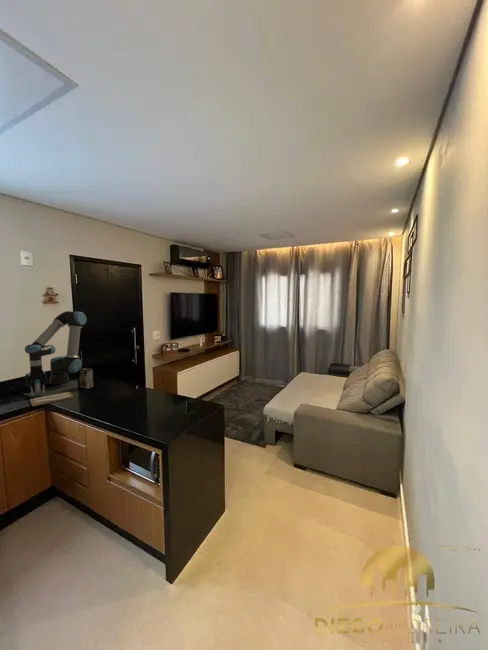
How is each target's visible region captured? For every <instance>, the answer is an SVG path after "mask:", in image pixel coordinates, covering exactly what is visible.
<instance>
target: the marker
mask: <svg viewBox="0 0 488 650" xmlns="http://www.w3.org/2000/svg"><path fill="white" fill-rule="evenodd" d="M33 383H34V392H35V393H34V394H35V398H38V397H42V390H41V388H42V387H41V378H40V379H34V380H33Z"/></svg>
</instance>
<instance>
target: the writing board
mask: <svg viewBox="0 0 488 650" xmlns="http://www.w3.org/2000/svg"><path fill="white" fill-rule="evenodd" d="M74 398H75V397H74V395H73V393H71V392H70V391H65V392H63V391H62V392H59V393H55V394H50V395H49V394H47V395H44V396H40V397H34V398H30V399H29V402H30V405H31V407H32V408H33V407H38V406H42V405H48V404H51V403H50V402H53V403H56V401H57V402H61V400H62V401H66V399H67V400H71V399H74Z"/></svg>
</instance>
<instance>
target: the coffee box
mask: <svg viewBox="0 0 488 650" xmlns="http://www.w3.org/2000/svg"><path fill="white" fill-rule="evenodd" d="M93 371H94V370H93V368H88V367H81V369H79V371H78V376H79V377H78V378H79V379H78V381H79V388H82V389H86V390H87V389H91V388H92V387H94V379H93V378H94V376H93V375H94V373H93Z"/></svg>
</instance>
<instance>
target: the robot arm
mask: <svg viewBox="0 0 488 650" xmlns="http://www.w3.org/2000/svg"><path fill="white" fill-rule="evenodd" d="M86 323H87V316H86V314H85V313H84V312H82V311H67V310H65V311H64V312H62V313H59V315H57V316H56V317H55V318H54V319H52V323H50V324H49V326H48V327H47V328H46V329H45V330H44V331H43V332H42V333H41V334H40V335H39V336H38V337H37V338H36V339H35V340H34V341H33V342H32V343H31V344H27V345H25V347H24V352H25V353H26V354H28V357H29V358H28V359H29V370H30V371H29V373H25V377H26V378H25V379H26V380H25V387H26V388H28V389H29V392H31V393H30V394H31V396H34V391H33V383H34V380H35V378H40V381H41V382H42V383H43V384H42V392H43V394H45V393H46V390H45V389H47V384H49V385H54V386H56V385H62V384H66V383H67V384H68V383H69V382H70V378H69V375H68V373H77V372H79V369H81V368H83V367H82V366H83V361H82V360H81V359H80V356H79V348H80V337H81V336H80V335H81V329H82V328H84V327H83V326H84V325H86ZM66 325H67V327H68V330H69V331H68V340H67V348H66V350H67V351H66V355H65V356H64V355H63V356H56V357H52V358H51V359H50V361H49V364H50V377H49V379H48V371H47V370H44V369H43V365H42V364H43V360H42V357H45V356H48V355H52V354H55V352H56V347H55V345H54V344H47V343H48V342H49V341H50V340H51V339H52V338H53V337H54V336H55V334H56V333H57V332H59V330H60V329H61V328H64V326H66ZM43 374H44V378H45V380H44V378H43V376H42V375H43ZM30 376H31V380H30V381H29V379H30V378H29V377H30Z"/></svg>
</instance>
